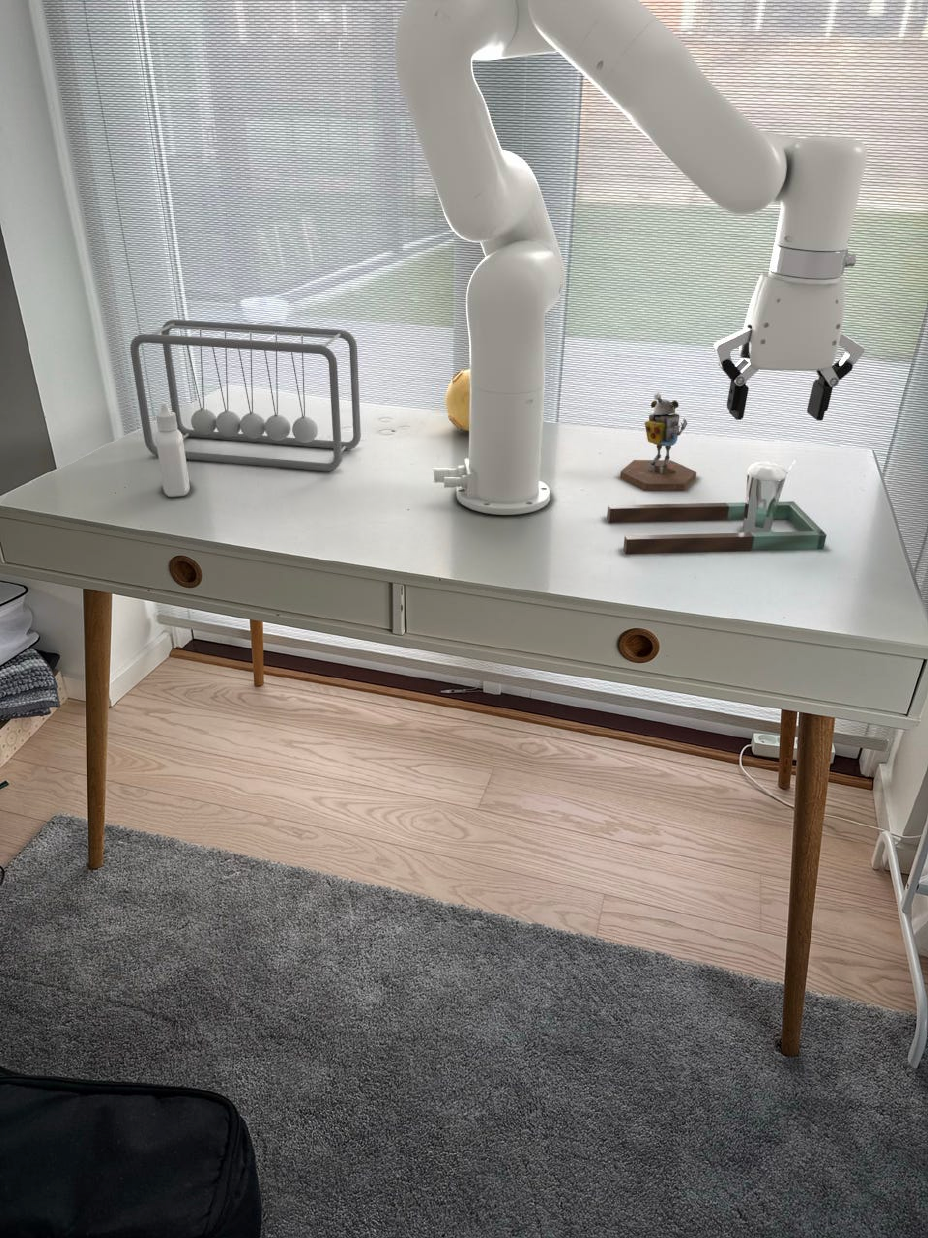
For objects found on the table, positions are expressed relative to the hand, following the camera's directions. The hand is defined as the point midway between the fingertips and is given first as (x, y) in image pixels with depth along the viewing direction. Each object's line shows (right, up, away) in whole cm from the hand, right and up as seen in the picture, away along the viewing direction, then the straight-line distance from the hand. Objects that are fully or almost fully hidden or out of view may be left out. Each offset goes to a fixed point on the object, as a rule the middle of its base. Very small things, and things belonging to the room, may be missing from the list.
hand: (775, 416), depth 112 cm
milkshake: (0, -13, +7) cm, 15 cm away
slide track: (-6, -13, +7) cm, 16 cm away
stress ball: (-35, +6, +40) cm, 53 cm away
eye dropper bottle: (-76, -7, +17) cm, 78 cm away
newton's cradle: (-68, +1, +30) cm, 74 cm away
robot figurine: (-9, -4, +23) cm, 25 cm away
